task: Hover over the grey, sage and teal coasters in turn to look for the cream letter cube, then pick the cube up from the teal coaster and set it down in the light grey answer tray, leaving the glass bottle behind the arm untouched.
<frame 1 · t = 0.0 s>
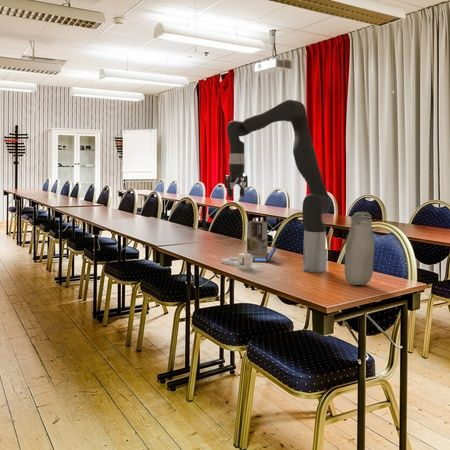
hand: (236, 196, 236), 29 cm above the table, tool pointing down, fingers open, 8 cm apart
coaster teal: (244, 269, 210), on the table
letter cube: (244, 267, 210), point 1 cm above the table, touching coaster teal
coaster grey: (254, 272, 204), on the table
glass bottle: (357, 285, 185), on the table
handheld game console: (264, 262, 228), on the table
coffee box: (257, 252, 251), on the table
answer tray: (234, 264, 220), on the table
coaster sage: (255, 267, 214), on the table
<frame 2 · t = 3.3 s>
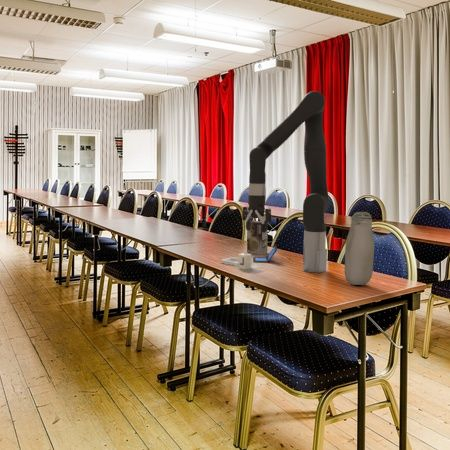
hand: (256, 231, 212), 16 cm above the table, tool pointing down, fingers open, 8 cm apart
nothing on the table moved.
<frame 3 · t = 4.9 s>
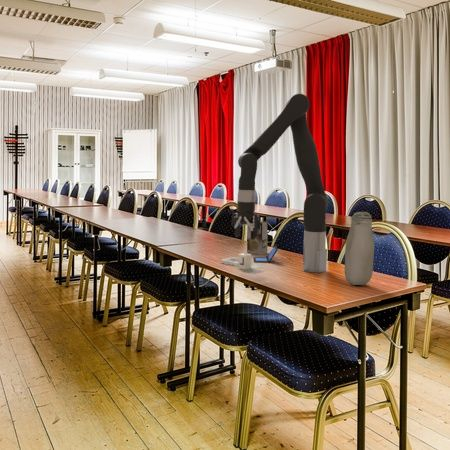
hand: (245, 238, 209), 13 cm above the table, tool pointing down, fingers open, 8 cm apart
nothing on the table moved.
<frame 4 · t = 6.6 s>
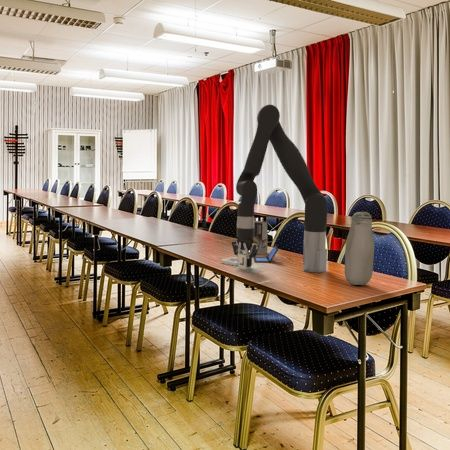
hand: (244, 265, 210), 1 cm above the table, tool pointing down, fingers closed on letter cube, 4 cm apart
letter cube: (244, 267, 210), point 1 cm above the table, touching coaster teal, gripper
everything else where it was.
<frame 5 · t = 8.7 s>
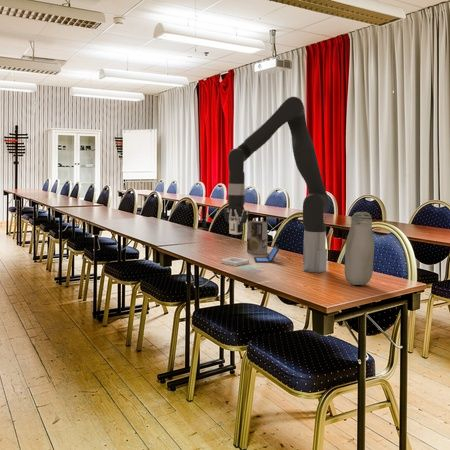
hand: (235, 231, 219), 15 cm above the table, tool pointing down, fingers closed on letter cube, 4 cm apart
letter cube: (235, 233, 219), point 14 cm above the table, touching gripper
everything else where it was.
when the fingers open (3 cm above the table, at t = 11.1 s): letter cube drops 2 cm, resting on answer tray.
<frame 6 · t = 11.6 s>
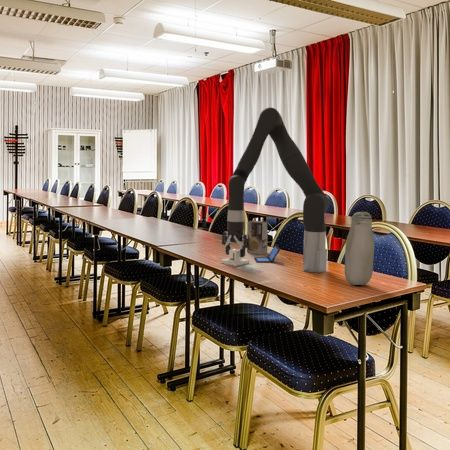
hand: (235, 255, 220), 4 cm above the table, tool pointing down, fingers open, 8 cm apart
letter cube: (235, 263, 220), point 1 cm above the table, touching answer tray
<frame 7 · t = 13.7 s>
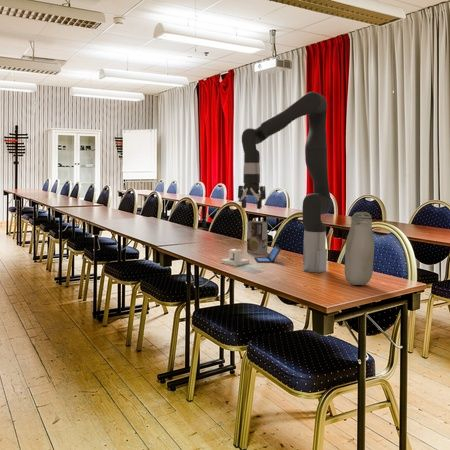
hand: (251, 208, 223), 25 cm above the table, tool pointing down, fingers open, 8 cm apart
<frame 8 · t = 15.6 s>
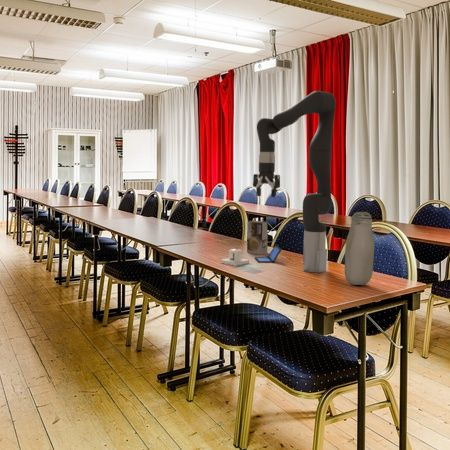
hand: (265, 196, 229), 30 cm above the table, tool pointing down, fingers open, 8 cm apart
at the end: letter cube 0.2 cm off-centre on the answer tray, point 0.6 cm above the answer tray's base; letter cube tilted 0°; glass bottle moved 0.2 cm from its start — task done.
